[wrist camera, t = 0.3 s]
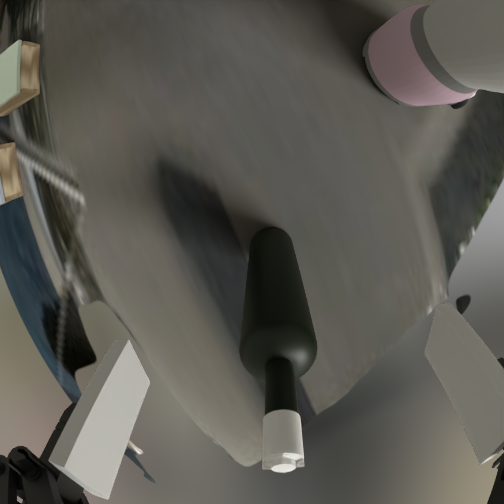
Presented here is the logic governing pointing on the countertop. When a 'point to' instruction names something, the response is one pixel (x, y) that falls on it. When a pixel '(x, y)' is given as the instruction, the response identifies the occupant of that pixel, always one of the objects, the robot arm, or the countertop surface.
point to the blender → (439, 52)
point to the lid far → (1, 194)
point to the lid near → (10, 72)
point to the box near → (25, 78)
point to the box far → (10, 172)
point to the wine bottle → (277, 342)
